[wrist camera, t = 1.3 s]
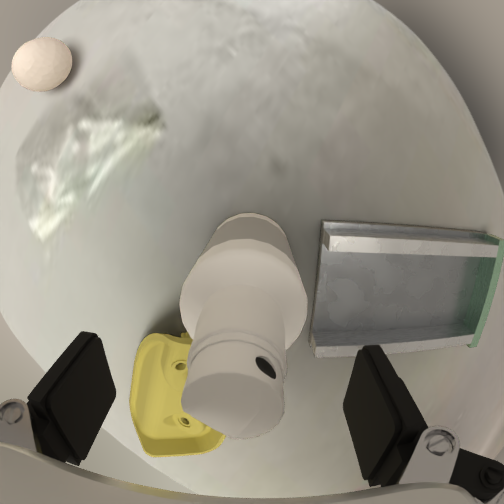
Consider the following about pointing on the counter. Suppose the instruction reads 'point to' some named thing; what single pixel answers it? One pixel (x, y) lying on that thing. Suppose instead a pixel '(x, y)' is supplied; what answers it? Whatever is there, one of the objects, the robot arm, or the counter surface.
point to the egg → (42, 64)
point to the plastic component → (166, 400)
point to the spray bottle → (241, 326)
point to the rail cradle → (401, 287)
